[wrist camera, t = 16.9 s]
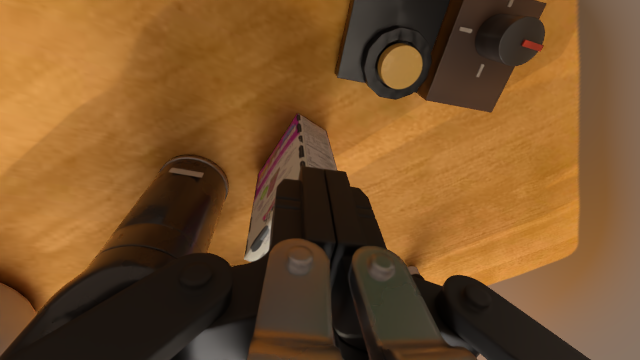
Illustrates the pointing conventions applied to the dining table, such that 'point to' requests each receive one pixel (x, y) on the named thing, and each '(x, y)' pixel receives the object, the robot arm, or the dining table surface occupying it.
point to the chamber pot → (13, 315)
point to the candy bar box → (285, 176)
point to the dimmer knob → (510, 38)
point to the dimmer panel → (470, 55)
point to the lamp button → (399, 65)
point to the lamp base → (388, 39)
